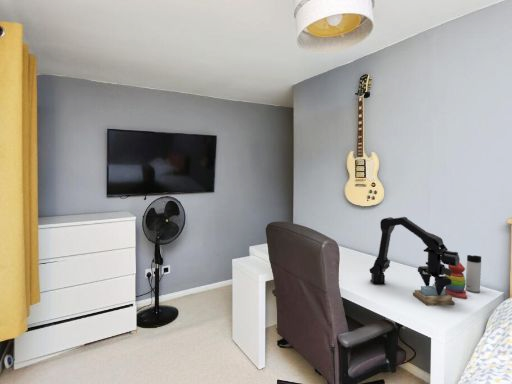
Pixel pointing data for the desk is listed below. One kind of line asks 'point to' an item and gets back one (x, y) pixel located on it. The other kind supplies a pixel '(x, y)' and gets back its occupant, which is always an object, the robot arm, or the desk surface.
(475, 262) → the travel mug
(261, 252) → the desk surface
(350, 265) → the desk surface
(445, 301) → the jig
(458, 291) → the stacking bear
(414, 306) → the desk surface
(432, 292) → the blue slab
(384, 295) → the desk surface
